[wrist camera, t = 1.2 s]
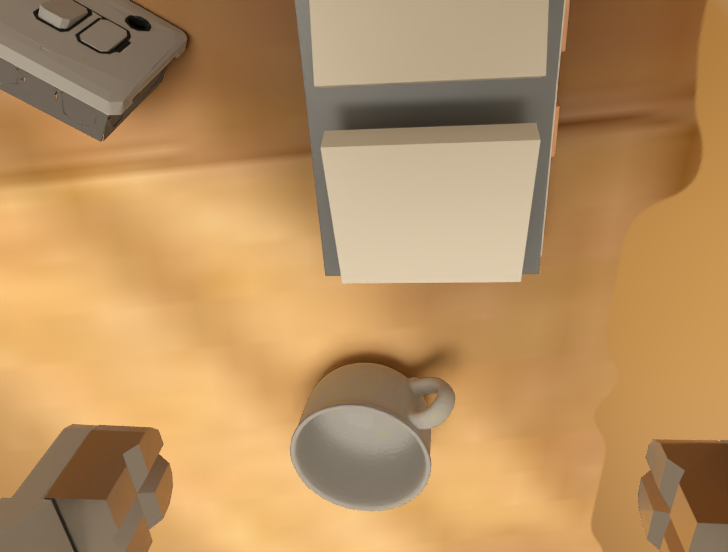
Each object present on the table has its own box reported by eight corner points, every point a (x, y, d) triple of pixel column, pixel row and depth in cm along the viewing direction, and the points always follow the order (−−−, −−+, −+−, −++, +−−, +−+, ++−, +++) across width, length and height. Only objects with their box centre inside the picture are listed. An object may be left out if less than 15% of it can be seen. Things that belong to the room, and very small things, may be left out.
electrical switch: (194, 34, 38) (127, 78, 31) (171, 103, 41) (104, 158, 34) (53, -47, 37) (-55, -21, 29) (39, 30, 40) (-62, 72, 32)
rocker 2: (324, 130, 32) (320, 147, 31) (536, 122, 31) (540, 139, 30) (344, 265, 39) (342, 283, 38) (517, 263, 38) (520, 281, 37)
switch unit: (296, -151, 33) (267, -167, 27) (570, -176, 31) (603, -199, 25) (335, 242, 45) (321, 289, 39) (534, 239, 43) (551, 288, 37)
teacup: (348, 452, 56) (336, 527, 49) (282, 370, 51) (260, 439, 45) (486, 403, 51) (495, 477, 44) (427, 309, 47) (427, 374, 40)
